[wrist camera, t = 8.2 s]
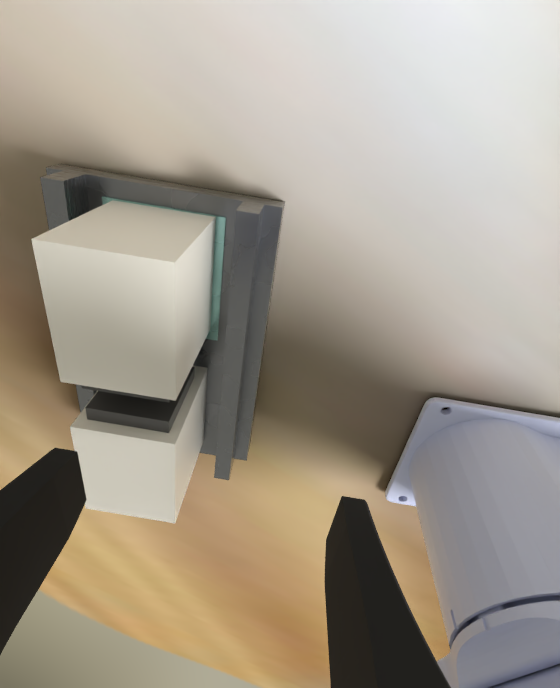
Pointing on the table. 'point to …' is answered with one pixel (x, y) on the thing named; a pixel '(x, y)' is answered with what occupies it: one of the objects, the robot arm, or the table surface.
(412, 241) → the table surface
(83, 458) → the white and grey block
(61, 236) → the white cardboard box
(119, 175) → the sliding window
